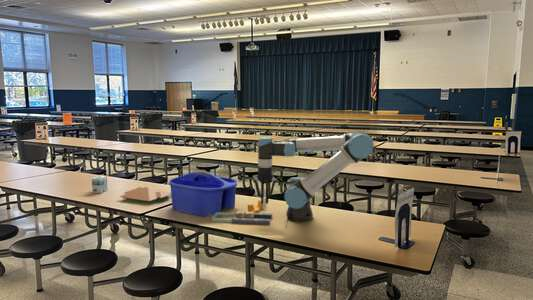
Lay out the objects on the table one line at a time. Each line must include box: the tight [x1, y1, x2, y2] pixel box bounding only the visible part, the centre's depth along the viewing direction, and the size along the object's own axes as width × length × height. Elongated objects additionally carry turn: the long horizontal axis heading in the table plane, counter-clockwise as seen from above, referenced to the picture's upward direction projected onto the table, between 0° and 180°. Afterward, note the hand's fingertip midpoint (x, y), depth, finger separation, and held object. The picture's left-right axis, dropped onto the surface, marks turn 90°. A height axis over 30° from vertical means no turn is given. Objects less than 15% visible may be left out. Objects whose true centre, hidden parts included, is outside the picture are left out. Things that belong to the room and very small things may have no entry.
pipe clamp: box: [247, 199, 263, 213], centre depth 221 cm, size 12×4×6 cm, turn 143°
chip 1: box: [236, 210, 246, 218], centre depth 205 cm, size 4×4×4 cm
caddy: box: [168, 170, 238, 217], centre depth 230 cm, size 32×45×23 cm
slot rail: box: [231, 211, 273, 226], centre depth 204 cm, size 20×13×4 cm, turn 82°
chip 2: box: [245, 210, 254, 218], centre depth 204 cm, size 4×4×4 cm
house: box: [118, 186, 171, 205], centre depth 252 cm, size 23×33×8 cm
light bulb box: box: [91, 175, 108, 194], centre depth 270 cm, size 11×7×11 cm, turn 179°
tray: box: [210, 211, 237, 223], centre depth 207 cm, size 12×12×3 cm
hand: (264, 209), depth 203 cm, fingers closed
